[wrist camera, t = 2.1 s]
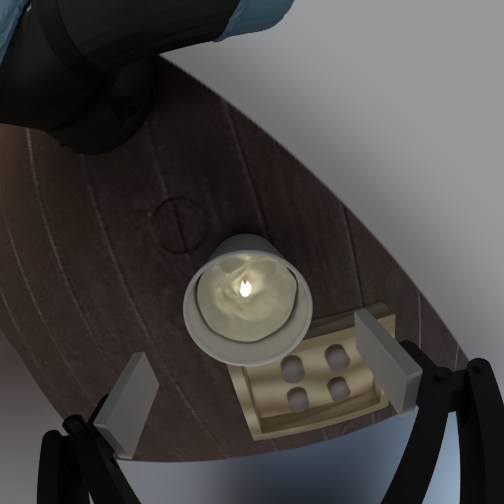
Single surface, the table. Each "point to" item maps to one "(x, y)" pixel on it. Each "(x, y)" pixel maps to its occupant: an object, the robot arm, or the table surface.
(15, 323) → the table surface
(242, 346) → the candle holder
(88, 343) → the table surface
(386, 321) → the peg frame
